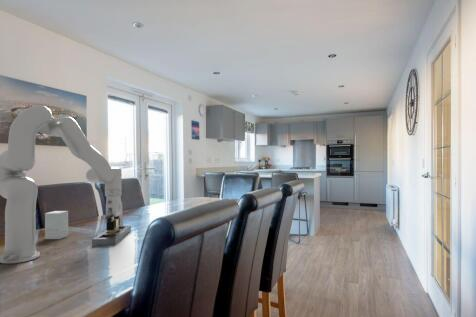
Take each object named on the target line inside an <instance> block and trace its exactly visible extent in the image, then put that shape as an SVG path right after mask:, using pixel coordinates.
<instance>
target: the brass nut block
mask: <svg viewBox="0 0 476 317" xmlns="http://www.w3.org/2000/svg"><path fill="white" fill-rule="evenodd" d="M113 221H114V230H107V233H118V232H119V219H113Z"/></svg>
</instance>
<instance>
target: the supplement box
mask: <svg viewBox="0 0 476 317" xmlns="http://www.w3.org/2000/svg"><path fill="white" fill-rule="evenodd" d="M44 237H45V238H44V240H61V239H63V238H66V237H69V210H54V211H48V212H45V213H44Z"/></svg>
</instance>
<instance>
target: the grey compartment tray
mask: <svg viewBox="0 0 476 317" xmlns="http://www.w3.org/2000/svg"><path fill="white" fill-rule="evenodd" d="M131 231H132V227H131V225H123V226H119V232H118V233H107V230H106V229H105V230H104V231H102V232H101V233H99V234H98V235H96V236H95V237H93V238H92V239H91V247H106V246H107V247H108V246H110V247H111V246H117V245H118V244H119V243H120V242H121V241H122V240H123V239H124V238H125V237H126V236H127V235H128V234H130V232H131Z"/></svg>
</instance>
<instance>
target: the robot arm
mask: <svg viewBox="0 0 476 317" xmlns="http://www.w3.org/2000/svg"><path fill="white" fill-rule="evenodd" d="M38 133H40V134H43V135H48V136H52V137H57V138H61V139H62V141H63V142H64V144H65V145H66V147H67V148H68V150H69V151H70V153H71V154H72V155H73V156H74V157H76V158H77V159H79V160H81V161H83V162H85V163H86V164H87V165H89V167H90V168H89V169H88V170H87V171H86V173H85V178H86V179H87V181H88V182H90V183H92V184H104V196H105V197H106V200H105V202H106V203H105V216H106V220H105V222H106V229H105V230H114V221H113V219H119V225H120V218H119V217H120V214H121V213H122V211H121V202H122V197H121V196H122V194H123V193H122V191H123V190H122V185H123V184H122V181H123V180H122V176H123V175H122V173H123V172H122V168H120V167H111V165H110V163H109V162H108V160H107V159H106V158H105V156H103V154H102V153H101V152H99V151H98V149H96V148H95V147H94V146H92V144H91V143H90V142H89V140H88V138H87V137H86V135H85V133H84V131H83V130H82V128H81V127H80V125H79V124H78V122H77V121H76V119H74V118H73V117H71V116H60V117H55V116H53V113H52V111H51V109H50V108H49V107H47V106H45V105H41V104H39V105H34V106H30V107H26V108H23V109H22V110H21V111H20V112H19V113H18V115H17V116H16V117H15V118H14V120H13V121H12V123H11V125H10V128H9V132H8V138H7V139H8V141H7V149H6V150H5V151H4V150H3V152H1V154H0V196H1V197H2V198H4V199H6V203H5V208H4V231H5V232H4V252H3V254H2V255H0V263H1V264H6V265H7V264H18V263H26V262H29V261H33V260H35V259H38V258H40V256H41V252H40V251H37V250H36V239H37V238H36V231H37V230H36V228H37V226H36V225H37V224H36V222H37V221H36V207H37V206H36V205H37V199H38V193H39V192H38V189H39V187H38V185H37V182H36V181H35V180H34V179H33V178H32V177H28V176H26V173H27V172H29V171H31V170H32V169H34V166H35V164H36V163H35V162H36V138H37V134H38ZM111 217H112V219H111Z"/></svg>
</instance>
